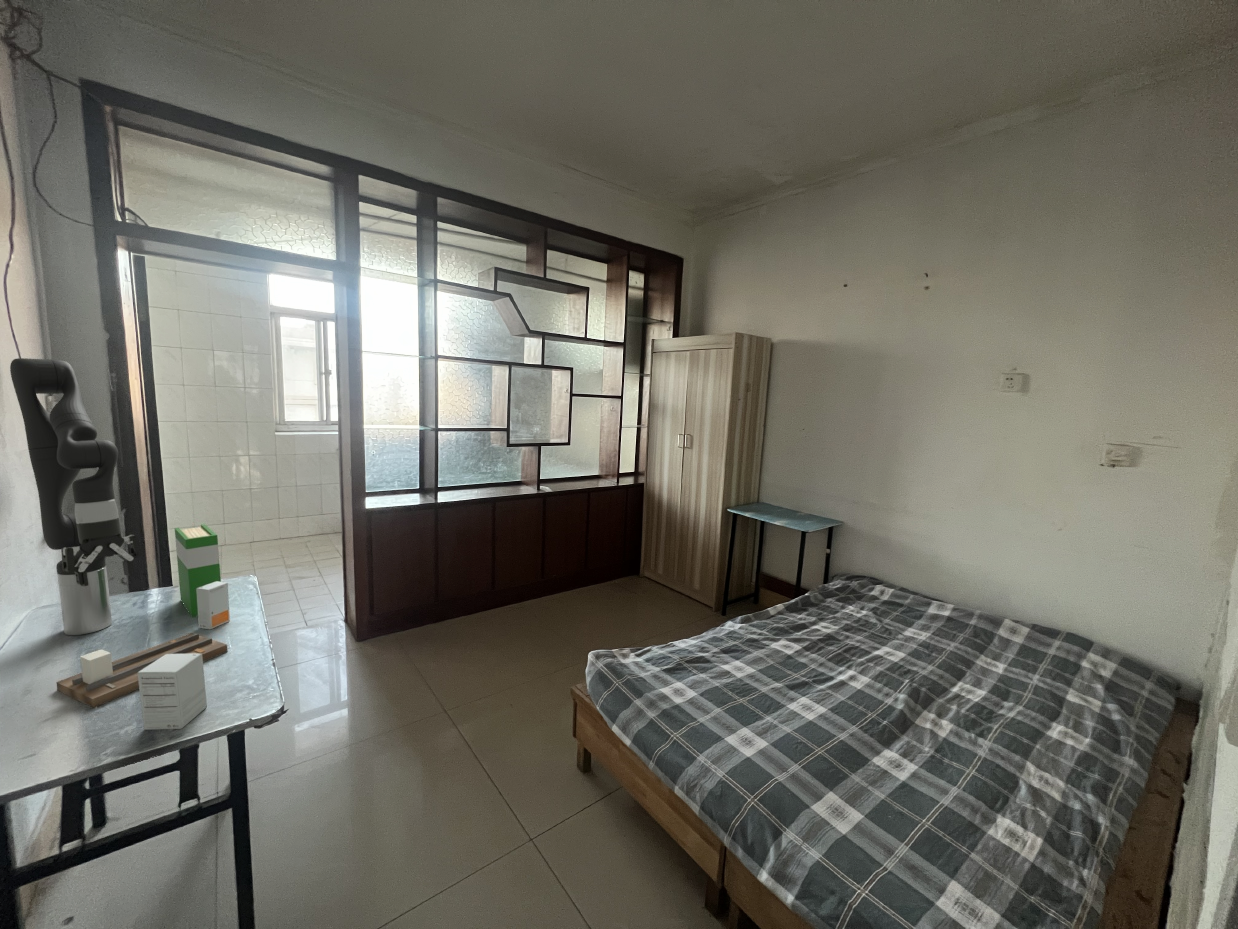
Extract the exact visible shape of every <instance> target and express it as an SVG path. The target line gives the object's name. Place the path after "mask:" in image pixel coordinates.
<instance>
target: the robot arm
mask: <svg viewBox="0 0 1238 929" xmlns="http://www.w3.org/2000/svg"><path fill="white" fill-rule="evenodd" d="M9 371H10V378H11V381H12V384H13V388H14V391H15V392H14V393H15V396H16V398H17V401H18V405H19V408H20V412H21V416H22V419H23V424H24V431H25V435H26V443H27V450H28V453H29V454H28V455H29V460H30V462H31V463H30V464H31V467H32V470H33V475H34V478H35V484H36V488H37V493H38V498H39V499H38V500H39V510H40V520H41V528H42V534H43V539H44V542H45V544H46V546H48V548H49V549H51V550H53V551H60V550H61V560H59V561H58V562H57V563H56V574H57V583H58V589H59V590H58V591H59V598H60V600H59V601H60V606H61V615H62V625H63V632H64V635H67V636H80V635H81V636H82V635H86V634H91V633H95V632H98V631H100V630H104V629H106V628H108V627H109V626H111V625H112V623H113V619H112V611H111V599H110V598H111V597H110V592H109V591H110V590H109V582H108V581H109V580H108V572H107V563H106V558H107V557H108V558H110V557H114V556H117V557H119V558H120V559H121V560H123V561H122V562H121V563H122V568H123V574H124V576H131V575H133V573H134V572H135V566H134V560H135V559H136V558H138V557H142V550H141V545H140V541H139V537H138V535H137V534H129V535H127V536H122V530H121V524H120V523H121V522H120V516H119V515H120V513H119V508H118V506H117V502H116V499H115V491H114V484H113V483H114V474H115V469H116V466H117V463H118V459H119V449H118V447H117V446H116V445H115V443H114V442H112V441H110V440H108V439H97V436H98V432H97V429H96V426H94V423H93V421H92V420H91V418H90V416H89V415H88V414H89V413H87V410H86V407H85V406H86V405H85V403H84V398H83V395H82V394H83V393H82V391H81V387H80V384H79V382H78V378H77V375H76V371H75V370H74V368H73V366H72V365H71V364H70V363H69V362H68V361H66V360H65V361H64V360H60V359H46V358H25V357H24V358H21V357H20V358H14V359H13V360H11V362H10V367H9ZM37 394H38V395H43V394H45V395H48V394H49V395H51V394H52V395H53V394H55V395H56V394H57V395H58V394H63V396H62V397H61V398H60V399H59V401H58V402H56V403H55V405H54V406H53V407H52V408H51V410H50V413H49V412H48V410H46V409H45V408H44V406H43V405H42V403H41V401H40V400H39V397H38V395H37ZM96 468H98V469H97V470H96V472H95V474H93V475H91V476H88V477H83V478H80V479H79V478H78V479H76V478H77V476H78V475H79V473H80V472H81V471H82V470H85V469H96ZM75 479H76V480H75ZM71 485H72V488H71V489H72V493H73V501H74V512H71V513H64V514H63V503H64V499H65V496H66V493H67V491H68V489H69V488H70V486H71ZM124 542H125V543H126V544H127V545H128V547H129V552H130V553H128V552H127V551H126V550H124V549H123V548H121V547H122V546H123V544H124Z"/></svg>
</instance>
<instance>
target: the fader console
mask: <svg viewBox="0 0 1238 929" xmlns="http://www.w3.org/2000/svg"><path fill="white" fill-rule="evenodd" d="M227 652H228V644H226V643H223V642H221V641H218V640H215V639H213V637H209V638H208V637H206V636H203V635H200V634H199V633H193V632H190V633H188V634H185V635H182V636H180V637H179V636H178V637H176V638H174V639H171V640H168V641H166V642H163V643H160V644H158V645H155V646H151V647H149V648H146V649H144V650H142V651H138V652H135V653H132V654H130V655H127V656H124V657H122V658H118V659H116V660H112V669H113V675H112V676H109V677H106V678H104V679H101V680H99V681H96V682H93V683H91V684H87V683H85V682H83V677H82V672H80V673H77V674H74V675H72V676H69V677H66V678H64V679H61V680H59V681H56V689H57V690H56V691H58V692H60V693H62V694H64V695H66V696H68V697H70V698H72V699H75V700H77V701H79V702H81V703H83V704H85V705H87V706H89V707H91V708H96V707H98V706H102V705H103V704H106V703H108V702H110V701H113V700H115V699H117V698H120V697H123V696H124V695H127V694H130V693H133V692H135V691H137V690H139V681H138V672H139V671H141V670H142V669H144V668H145V667H147V666H148V665H150V664H152V663H153V662H155V661H156V660H158V659H159V658H161V657H162V656H164V655H165V654H191V653H198V654H202V658H203V663H204V662H207V661H208V660H212V659H214V658H216V657H218V656H220V655H223V654H225V653H227Z"/></svg>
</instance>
